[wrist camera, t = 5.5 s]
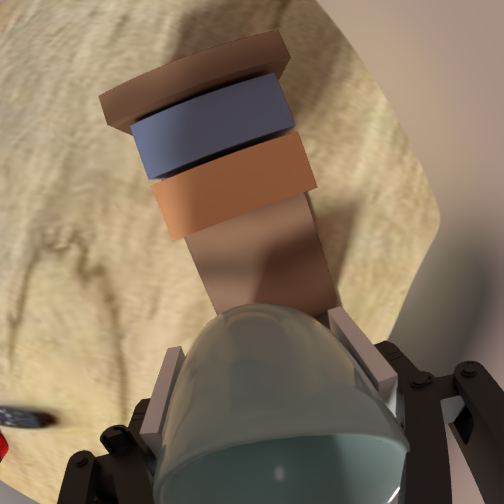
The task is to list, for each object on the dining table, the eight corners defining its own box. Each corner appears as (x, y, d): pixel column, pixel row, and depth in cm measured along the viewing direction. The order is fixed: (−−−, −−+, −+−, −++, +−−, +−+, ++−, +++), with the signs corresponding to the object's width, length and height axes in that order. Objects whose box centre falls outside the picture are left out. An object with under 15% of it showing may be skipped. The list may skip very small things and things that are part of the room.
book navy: (165, 145, 27) (129, 125, 16) (257, 111, 27) (274, 72, 16) (178, 179, 28) (148, 179, 17) (270, 145, 28) (295, 125, 17)
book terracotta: (179, 183, 28) (151, 185, 17) (271, 149, 28) (297, 131, 17) (193, 218, 29) (172, 241, 18) (284, 184, 28) (317, 187, 18)
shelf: (146, 130, 27) (91, 99, 15) (262, 87, 27) (285, 28, 15) (254, 390, 35) (266, 475, 22) (348, 354, 35) (395, 426, 22)
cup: (306, 409, 17) (350, 544, 8) (179, 393, 17) (151, 541, 7) (347, 294, 16) (459, 415, 6) (197, 267, 15) (148, 404, 5)
